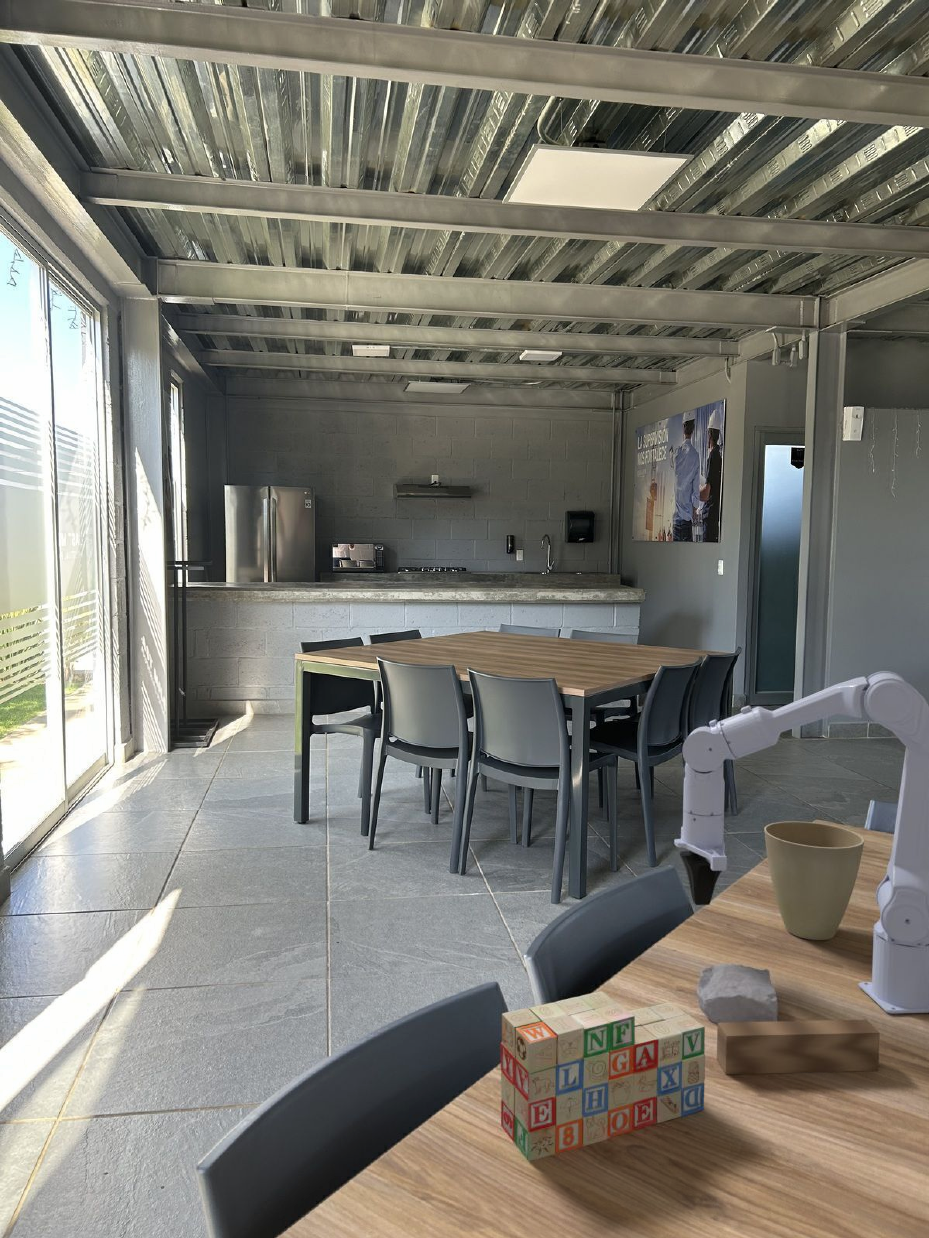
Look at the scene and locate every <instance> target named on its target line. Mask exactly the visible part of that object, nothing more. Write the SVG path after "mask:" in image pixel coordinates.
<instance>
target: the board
mask: <svg viewBox="0 0 929 1238" xmlns="http://www.w3.org/2000/svg"><path fill="white" fill-rule="evenodd" d="M880 1034H881V1033H880V1031H878V1030H877V1029H876V1027H875V1026H873V1025H872V1024H871V1023H870V1021H868V1019H841V1020H840V1019H835V1020H834V1019H831V1020H830V1019H828V1020H825V1019H824V1020H823V1019H822V1020H781V1021H779V1020H777V1021H773V1022H725V1023H717V1033H716V1061H717V1062H718V1065H719V1066H720V1068H721V1069H722V1071H723V1072H724V1074H725V1075H747V1074H748V1075H749V1074H750V1075H751V1074H752V1075H754V1074H755V1075H757V1074H791V1073H792V1074H793V1073H794V1074H795V1073H831V1072H835V1073H836V1072H868V1071H869V1072H870V1071H871V1072H873V1071H877V1072H878V1071H879V1065H880V1064H879V1062H880V1061H879V1059H880V1036H881V1035H880Z"/></svg>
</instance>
